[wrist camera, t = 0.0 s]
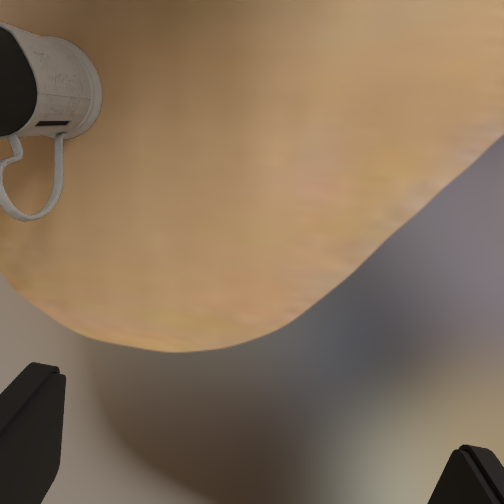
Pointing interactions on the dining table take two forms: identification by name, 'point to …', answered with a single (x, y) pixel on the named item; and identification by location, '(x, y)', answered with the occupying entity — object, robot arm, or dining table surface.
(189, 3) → the dining table surface
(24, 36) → the grey and black mug
